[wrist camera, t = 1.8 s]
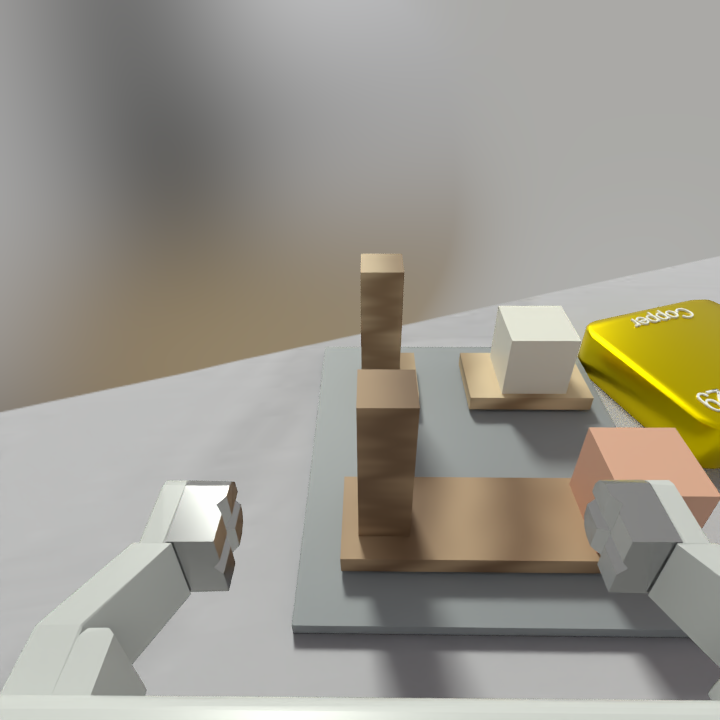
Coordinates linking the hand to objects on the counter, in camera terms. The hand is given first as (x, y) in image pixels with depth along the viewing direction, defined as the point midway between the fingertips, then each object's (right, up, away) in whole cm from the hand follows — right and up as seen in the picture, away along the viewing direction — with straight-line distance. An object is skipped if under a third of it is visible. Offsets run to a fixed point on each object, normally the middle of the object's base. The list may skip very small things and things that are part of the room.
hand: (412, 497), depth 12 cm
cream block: (+12, +2, +31) cm, 33 cm away
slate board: (+7, -4, +27) cm, 28 cm away
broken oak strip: (+8, +1, +32) cm, 33 cm away
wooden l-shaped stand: (+8, -7, +20) cm, 23 cm away
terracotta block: (+15, -6, +19) cm, 25 cm away
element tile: (+28, 0, +33) cm, 43 cm away
